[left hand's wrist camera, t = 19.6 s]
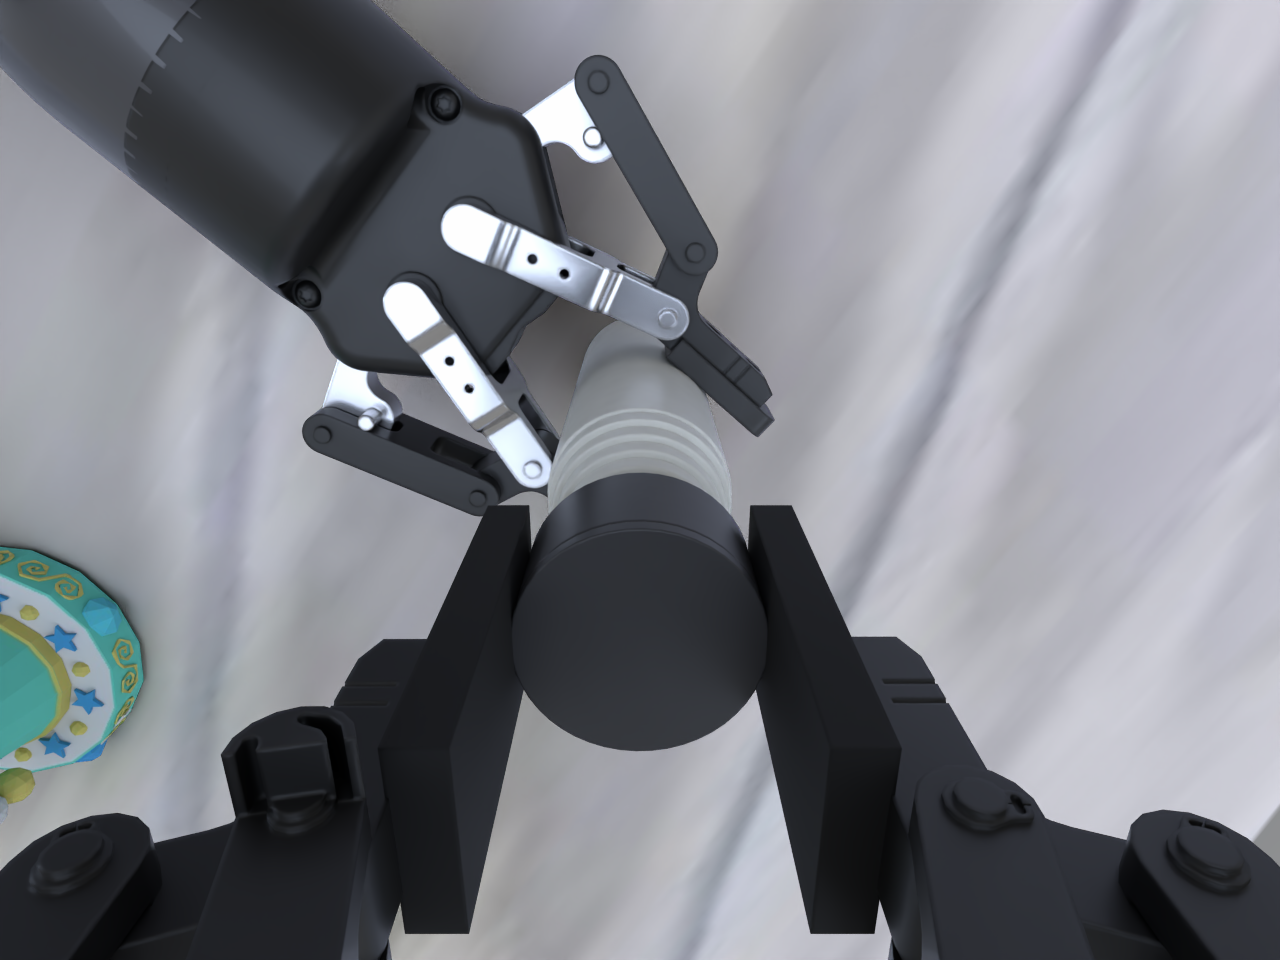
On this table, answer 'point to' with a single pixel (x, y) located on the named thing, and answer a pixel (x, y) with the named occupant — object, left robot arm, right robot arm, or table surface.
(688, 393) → the bottle
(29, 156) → the table surface
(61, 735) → the decorative hourglass
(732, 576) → the cap
